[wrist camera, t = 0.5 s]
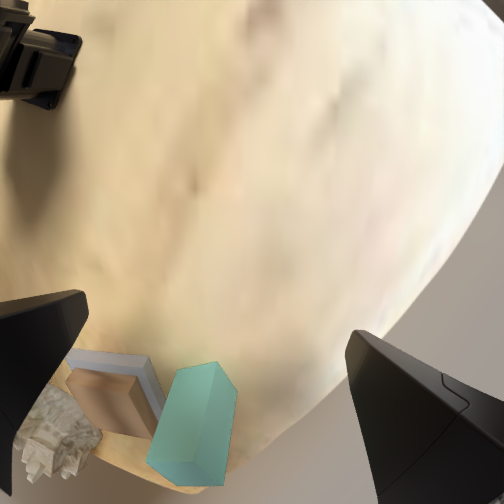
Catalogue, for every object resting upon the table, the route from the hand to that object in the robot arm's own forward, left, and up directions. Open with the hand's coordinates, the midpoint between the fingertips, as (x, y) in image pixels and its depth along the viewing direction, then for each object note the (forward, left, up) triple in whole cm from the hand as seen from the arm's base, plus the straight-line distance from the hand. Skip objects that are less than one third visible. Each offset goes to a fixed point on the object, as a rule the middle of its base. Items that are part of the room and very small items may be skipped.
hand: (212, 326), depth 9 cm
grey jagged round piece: (-13, -41, -14) cm, 45 cm away
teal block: (+4, -17, -13) cm, 22 cm away
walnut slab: (-4, -25, -12) cm, 27 cm away
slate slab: (-4, -24, -14) cm, 28 cm away
